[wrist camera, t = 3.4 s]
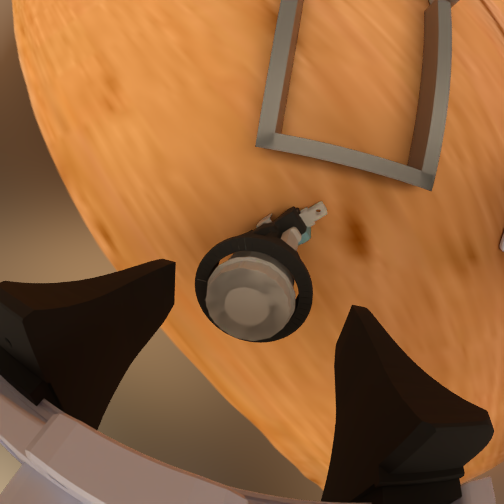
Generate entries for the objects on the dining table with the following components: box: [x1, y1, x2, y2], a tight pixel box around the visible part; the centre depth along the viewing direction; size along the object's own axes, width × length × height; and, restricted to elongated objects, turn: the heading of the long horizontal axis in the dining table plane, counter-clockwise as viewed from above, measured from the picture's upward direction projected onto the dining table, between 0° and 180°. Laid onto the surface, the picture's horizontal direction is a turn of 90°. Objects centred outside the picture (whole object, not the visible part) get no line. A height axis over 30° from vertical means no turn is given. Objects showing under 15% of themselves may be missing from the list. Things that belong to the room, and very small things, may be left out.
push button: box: [195, 201, 327, 342], centre depth 16 cm, size 7×5×10 cm
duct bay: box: [255, 0, 452, 191], centre depth 14 cm, size 11×14×3 cm
